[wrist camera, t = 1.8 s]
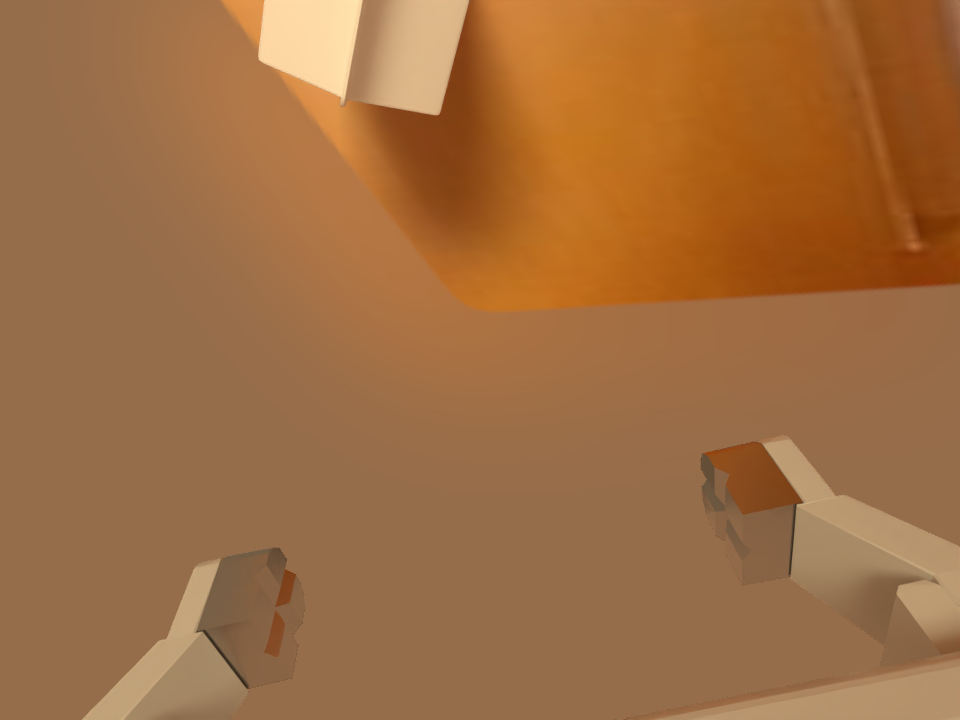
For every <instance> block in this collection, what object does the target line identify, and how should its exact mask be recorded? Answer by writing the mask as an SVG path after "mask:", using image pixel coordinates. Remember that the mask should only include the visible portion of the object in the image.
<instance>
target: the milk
mask: <svg viewBox="0 0 960 720" xmlns="http://www.w3.org/2000/svg"><path fill="white" fill-rule="evenodd" d="M469 1H470V0H264V9H263V18H262V27H261V36H260V45H259V55H258V59H259V61H261V62H262V63H264V64H266V65H268V66H271V67H273V68H275V69H278V70H280V71H282V72H284V73H287V74H289V75H291V76H293V77H296V78H298V79H300V80H303V81H305V82H307V83H309V84H312V85H314V86H316V87H318V88H321V89H323V90H325V91H328V92H330V93H332V94H334V95H337V96H339V97H341V102H340V105H341V107H344V106H345V104H346V102H347V101H348V100H351V101H356V102H362V103H368V104H373V105H379V106H384V107H390V108H396V109H401V110H407V111H413V112H418V113H424V114H430V115H439V114H440V112H441V109H442V105H443V101H444V97H445V93H446V89H447V86H448V82H449V78H450V74H451V70H452V66H453V63H454V59H455V55H456V51H457V47H458V43H459V39H460V36H461V32H462V28H463V24H464V20H465V16H466V12H467V9H468V5H469Z"/></svg>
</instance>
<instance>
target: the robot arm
mask: <svg viewBox="0 0 960 720" xmlns="http://www.w3.org/2000/svg"><path fill="white" fill-rule="evenodd" d="M701 470H702V471H703V474H704V475H705V477H706V479H707V480H706V482H705V483H704V484H703V486H702V497H703V503H704V507H705V511H706V515H707V517H708V520H709V522H710V525H711V527H712V529H713V531H714V533H715V535H716V536H717V537H719V538H720V539H722V540H724V541H726V556H727V558H728V560H729V562H730V564H731V566H732V567H733V569H734V571H735V573H736V575H737V577H738V579H739V580H740V582H741V584H742V585H747V584H753V583H758V582H764V581H770V580H775V579H781V578H787V577H791V580H792V581H794V582H795V583H797V584H798V585H799V586H801V587H802V588H804V589H805V590H807V591H808V592H809V593H811V594H812V595H814V596H815V597H816V598H818V599H819V600H821V601H822V602H823V603H825V604H826V605H828V606H829V607H830V608H832V609H833V610H835V611H836V612H837V613H839V614H840V615H842V616H843V617H844V618H846V619H847V620H849V621H850V622H852V623H853V624H854V625H856V626H857V627H859V628H860V629H861V630H863V631H864V632H866V633H867V634H869V635H870V636H871V637H873V638H874V639H876V640H877V641H878V642H880V643H881V644H883V645H884V650H883V654H882V658H881V663H880V667H878V668H873V669H868V670H863V671H858V672H853V673H848V674H843V675H838V676H833V677H828V678H823V679H818V680H813V681H807V682H802V683H798V684H792V685H787V686H782V687H777V688H772V689H767V690H762V691H757V692H752V693H747V694H742V695H737V696H732V697H727V698H722V699H717V700H712V701H707V702H702V703H697V704H692V705H687V706H682V707H676V708H672V709H667V710H661V711H656V712H652V713H647V714H642V715H636V716H632V717H627V718H621V719H616V720H960V547H959V546H957V545H955V544H952V543H950V542H948V541H946V540H944V539H941V538H939V537H937V536H935V535H933V534H930V533H928V532H926V531H924V530H922V529H919V528H917V527H915V526H913V525H911V524H908V523H906V522H904V521H902V520H900V519H897V518H895V517H893V516H891V515H889V514H886V513H884V512H882V511H880V510H878V509H875V508H873V507H871V506H868V505H867V504H864V503H862V502H860V501H858V500H855V499H853V498H851V497H849V496H846V495H841V496H836V495H835V494H834V493H833V492H832V490H831V489H830V488H829V486H828V485H827V484H826V483H825V482H824V480H823V479H822V478H821V476H820V475H819V474H818V473H817V471H816V470H815V469H814V468H813V466H812V465H811V464H810V463H809V461H808V460H807V459H806V458H805V457H804V455H803V454H802V453H801V451H800V450H799V449H798V448H797V446H796V445H795V444H794V443H793V441H792V440H791V439H790V438H789V437H787V436H785V435H780V436H776V437H772V438H768V439H763V440H759V441H756V442H750V443H746V444H741V445H737V446H733V447H728V448H724V449H720V450H715V451H711V452H706V453H703V454H702V457H701ZM286 561H287V558H286V557H285V556H284V554H283V552H282V551H281V549H280V548H269V549H264V550H258V551H253V552H249V553H243V554H238V555H232V556H228V557H225V558H220V559H215V560H209V561H204V562H200V563H199V564H198V565H197V566H196V567H195V568H194V570H193V573H192V575H191V578H190V581H189V583H188V586H187V588H186V591H185V593H184V596H183V598H182V601H181V604H180V606H179V609H178V612H177V614H176V616H175V619H174V622H173V624H172V627H171V629H170V632H169V635H168V637H167V639H164V640H160V641H158V642H157V643H156V644H155V645H154V647H153V648H151V649H150V651H149V652H148V653H147V654H146V655H145V656H144V657H143V658H142V659H141V660H140V661H139V662H138V663H137V664H136V665H135V666H134V667H133V668H132V669H131V670H130V671H129V672H128V673H127V674H126V675H125V676H124V677H123V678H122V679H121V680H120V681H119V682H118V683H117V684H116V686H115V687H114V688H113V689H112V690H110V692H109V693H108V694H107V695H106V696H105V697H104V698H103V699H102V700H101V701H100V702H99V703H98V704H97V705H96V706H95V707H94V708H93V709H92V710H91V711H90V712H89V713H88V714H87V715H86V716H85V717H84V718H83V719H82V720H230V719H231V718H232V716H233V715H234V713H235V712H236V710H237V709H238V707H239V706H240V704H241V703H242V701H243V700H244V698H245V697H246V695H247V694H248V692H249V691H248V689H251V688H255V687H259V686H263V685H268V684H271V683H276V682H280V681H284V680H288V679H292V677H293V672H294V667H295V661H296V656H297V651H298V643H297V642H296V640H295V639H294V637H293V635H294V634H295V632H296V631H297V630H298V629H299V627H300V626H301V625H302V624H303V618H304V612H305V604H304V592H303V589H302V586H301V583H300V581H299V579H298V577H297V576H296V574H294V573H292V572H290V571H288V570H286V569H285V566H286Z"/></svg>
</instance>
